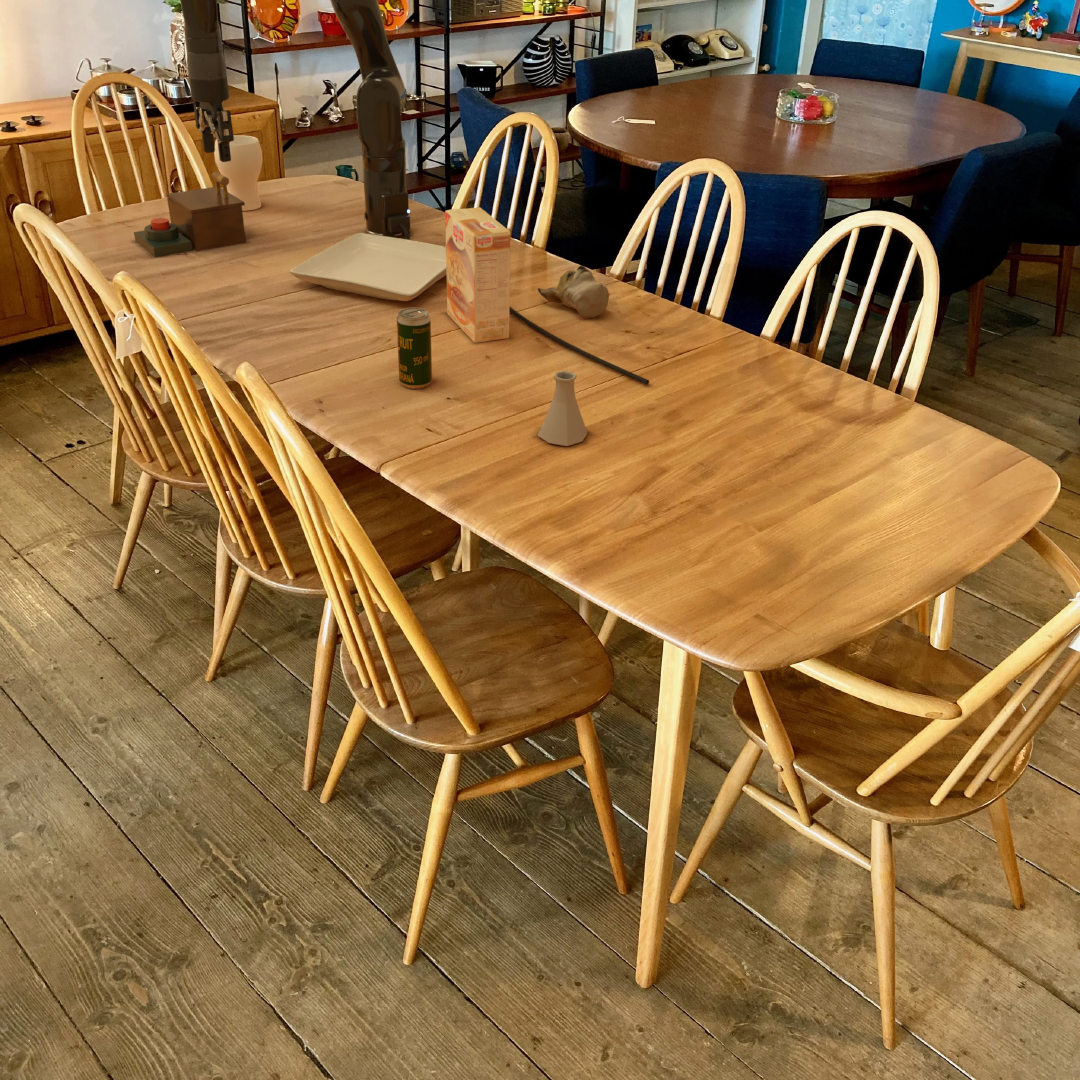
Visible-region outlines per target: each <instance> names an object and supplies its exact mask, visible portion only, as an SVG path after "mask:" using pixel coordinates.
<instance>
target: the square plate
mask: <svg viewBox="0 0 1080 1080" xmlns="http://www.w3.org/2000/svg"><path fill="white" fill-rule="evenodd" d="M289 273H290V274H291V275H293V276H294V277H295V278H297V279H298V280H299V281H302V282H305V283H308V284H309V283H310V284H314V285H320V286H322V287H324V288H326V289H329V290H336V291H340V292H346V293H350V294H356V295H361V296H366V297H372V298H377V299H382V300H386V301H400V302H409V301H412V300H414V299H415V298H416V297H418V296H420V295H421V294H422V293H423V292H425V291H426V290H427V289H429V288H430V287H431V286H433V285H434V284H435V283H437V282H438V281H440V280H441V279H443V278H444V277H446V276H447V273H446V246H445V245H439V244H434V243H428V242H423V241H417V240H411V239H410V240H406V238H405V239H404V238H401V237H396V238H393V237H386V236H379V235H371V234H367V233H366V232H365V233H364V232H357V233H354V234H352V235H350V236H348V237H346V238H344V239H342V240H341V241H338V242H337V243H335V244H333V245H331V246H329V247H326V248H325V249H324V250H323V249H322V251H320V252H318V253H316V254H315V255H313V256H311V257H310V258H307V259H306V260H304V261H303V262H301V263H299V264H298V265H296V266H294V267H293V268H291V269H290V270H289Z"/></svg>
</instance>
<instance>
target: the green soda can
mask: <svg viewBox="0 0 1080 1080" xmlns="http://www.w3.org/2000/svg"><path fill="white" fill-rule="evenodd" d="M431 323H432V322H431V316H430V312H429V311H428V310H427V309H425V308H422V307H406V308H402V309H400V310H399V311H397V317H396V335H397V359H398V360H397V361H398V379H399V382H400V384H401V386H402V387H404V388H406V389H411V390H419V389H420V390H421V389H424V388H428V387H429V386H430V385H431V383H432V381H433V366H432V365H433V362H432V358H433V357H432V325H431Z"/></svg>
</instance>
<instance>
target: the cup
mask: <svg viewBox="0 0 1080 1080" xmlns="http://www.w3.org/2000/svg"><path fill="white" fill-rule="evenodd" d="M233 136H234V141H231V142H229V145H230V154H231V161H229V162H222V161H220V158H219V150H218V142H217V139H215V140H214V146H215V152H213V155H214V162H215V165H216V167H217V169H218V173H220V174H222V175H223V176H225V177H227V178H228V179H229V184H228V185H227V192H229V193H230V194H232V195H233V196H235V197H237V198H238V199H240V200H242V201H243V202H244V203H245V205H243V206H242V212H243V211H244V212H245V211H246V212H247V211H254V210H257V209H260V208H261V207H262V202H261V198H260V194H259V191H258V180H259V177H260V174H261V172H262V167H263V160H264V159H263V150H262V147H261V144H260V140H259V138H257V137H255V136H251V135H242V134H240V135H239V134H237V135H236V134H235V135H234V134H233Z"/></svg>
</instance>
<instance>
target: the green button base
mask: <svg viewBox="0 0 1080 1080" xmlns="http://www.w3.org/2000/svg"><path fill="white" fill-rule="evenodd" d="M169 225H170V229H167V230H152V226H151V223H150V224H148V225H145V227H144V228H143V230H139V231H134V232H133V235H134V241H135V242H136V243H137V244H138V245H139V246H140V247H142V248H143V249H145V251H147V252H149V254H150V255H152V256H153V257H155V258H159V257H165V256H171V255H175V254H181V253H187V252H191V251H193V250H194V249H193V248H192V243H191V241H190V240H189V239H187V238H186V237H184V236H183V235H182V234H180V233H179V232H178V227H177V225H175V224H172V223H171V222H169Z"/></svg>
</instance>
